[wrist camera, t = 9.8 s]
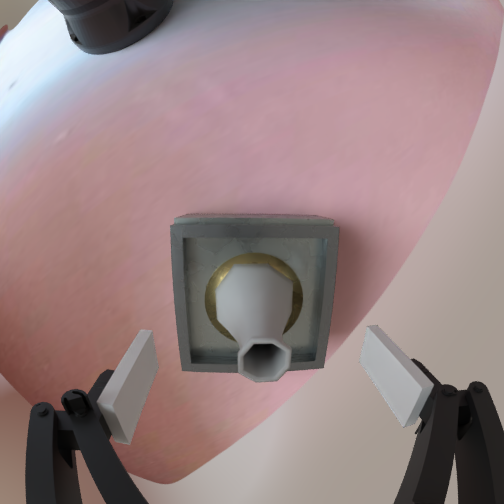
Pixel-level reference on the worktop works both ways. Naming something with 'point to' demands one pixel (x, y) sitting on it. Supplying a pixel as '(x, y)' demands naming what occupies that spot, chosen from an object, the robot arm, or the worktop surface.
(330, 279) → the grey boxy piece
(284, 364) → the flask
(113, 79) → the worktop surface
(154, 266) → the worktop surface
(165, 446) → the worktop surface
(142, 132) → the worktop surface
